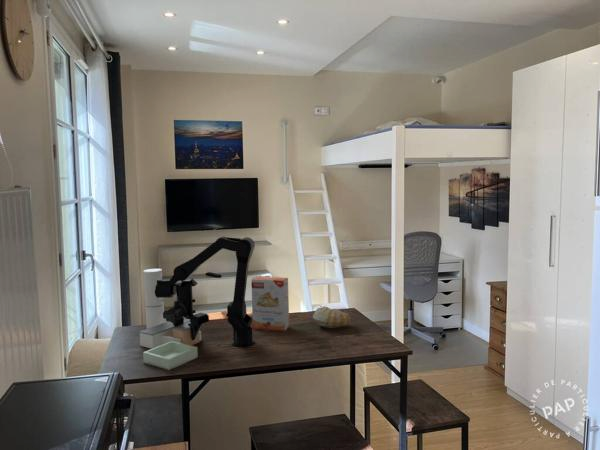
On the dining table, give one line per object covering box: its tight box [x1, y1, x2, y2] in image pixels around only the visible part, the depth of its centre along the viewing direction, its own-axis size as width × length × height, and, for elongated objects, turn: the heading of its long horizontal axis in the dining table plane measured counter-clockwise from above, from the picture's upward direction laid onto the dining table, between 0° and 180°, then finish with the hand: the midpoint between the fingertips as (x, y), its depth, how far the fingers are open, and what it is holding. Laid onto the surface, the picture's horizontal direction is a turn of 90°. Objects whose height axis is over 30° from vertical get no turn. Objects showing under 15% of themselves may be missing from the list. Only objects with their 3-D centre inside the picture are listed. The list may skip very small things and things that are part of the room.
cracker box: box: [251, 275, 290, 332], centre depth 189 cm, size 14×6×21 cm, turn 73°
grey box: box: [173, 322, 201, 346], centre depth 174 cm, size 6×8×7 cm
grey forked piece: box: [138, 318, 202, 349], centre depth 177 cm, size 16×20×5 cm
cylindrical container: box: [143, 268, 166, 329], centre depth 190 cm, size 7×7×25 cm
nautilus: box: [312, 304, 352, 329], centre depth 193 cm, size 8×22×15 cm
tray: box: [142, 341, 199, 371], centre depth 159 cm, size 13×13×4 cm
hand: (186, 338), depth 174 cm, fingers open, 7 cm apart
